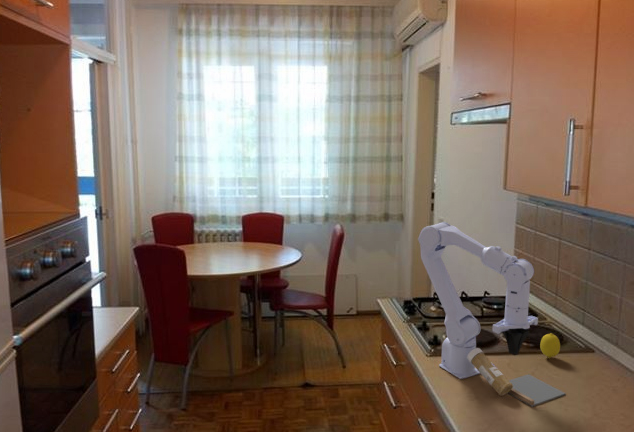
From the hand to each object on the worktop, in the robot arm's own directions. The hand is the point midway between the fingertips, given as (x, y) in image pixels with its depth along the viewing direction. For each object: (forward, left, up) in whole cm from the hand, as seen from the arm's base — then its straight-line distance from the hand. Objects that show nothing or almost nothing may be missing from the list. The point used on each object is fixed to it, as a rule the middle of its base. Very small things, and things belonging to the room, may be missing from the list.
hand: (513, 353), depth 138 cm
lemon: (-8, +25, -10) cm, 28 cm away
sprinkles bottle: (+3, -5, -8) cm, 10 cm away
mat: (+3, +3, -10) cm, 11 cm away
